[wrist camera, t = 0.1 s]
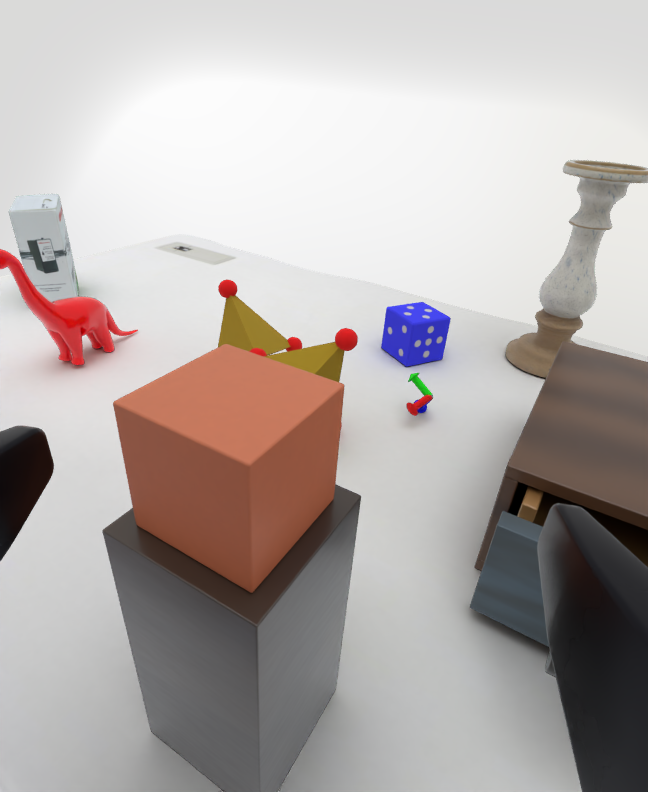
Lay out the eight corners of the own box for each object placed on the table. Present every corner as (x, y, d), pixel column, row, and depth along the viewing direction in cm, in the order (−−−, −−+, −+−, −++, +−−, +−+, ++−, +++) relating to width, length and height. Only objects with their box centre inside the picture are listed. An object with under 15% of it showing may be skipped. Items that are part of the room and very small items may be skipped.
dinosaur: (151, 335, 56) (136, 221, 49) (34, 396, 44) (-6, 256, 37) (124, 328, 57) (106, 216, 51) (3, 384, 45) (-41, 248, 39)
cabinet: (764, 701, 25) (867, 596, 20) (474, 568, 31) (507, 465, 26) (726, 482, 39) (781, 395, 35) (535, 421, 45) (562, 340, 41)
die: (443, 359, 55) (451, 317, 52) (406, 367, 53) (413, 324, 50) (416, 341, 59) (422, 301, 56) (380, 348, 56) (386, 306, 54)
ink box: (38, 288, 66) (15, 193, 60) (79, 285, 68) (60, 193, 62) (33, 312, 59) (6, 208, 53) (78, 309, 61) (57, 207, 55)
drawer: (790, 870, 18) (904, 796, 15) (443, 674, 24) (470, 588, 21) (728, 507, 35) (775, 435, 32) (534, 441, 41) (558, 374, 38)
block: (251, 594, 14) (248, 465, 11) (135, 525, 16) (111, 401, 13) (334, 498, 17) (345, 383, 15) (230, 451, 19) (225, 342, 17)
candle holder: (559, 389, 51) (635, 173, 40) (488, 355, 57) (539, 159, 46) (602, 368, 55) (681, 170, 45) (533, 339, 61) (588, 158, 51)
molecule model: (317, 333, 56) (303, 233, 48) (439, 414, 45) (447, 303, 37) (190, 404, 50) (149, 302, 41) (296, 519, 39) (269, 412, 30)
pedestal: (260, 821, 19) (256, 627, 13) (150, 731, 22) (101, 530, 15) (336, 688, 24) (361, 495, 17) (238, 626, 26) (228, 436, 20)
